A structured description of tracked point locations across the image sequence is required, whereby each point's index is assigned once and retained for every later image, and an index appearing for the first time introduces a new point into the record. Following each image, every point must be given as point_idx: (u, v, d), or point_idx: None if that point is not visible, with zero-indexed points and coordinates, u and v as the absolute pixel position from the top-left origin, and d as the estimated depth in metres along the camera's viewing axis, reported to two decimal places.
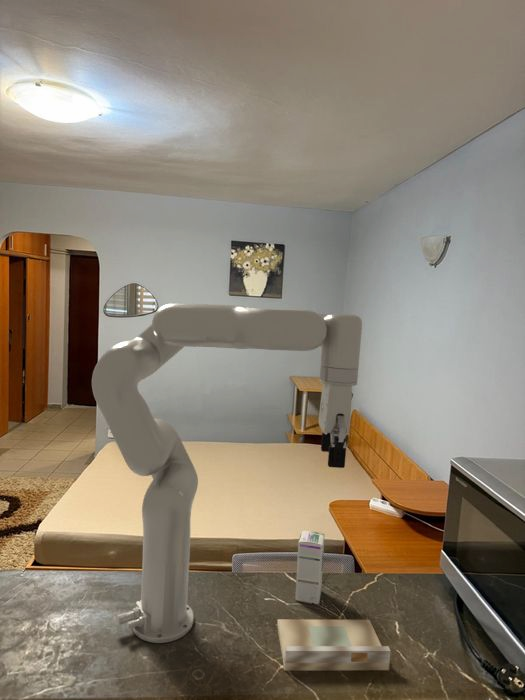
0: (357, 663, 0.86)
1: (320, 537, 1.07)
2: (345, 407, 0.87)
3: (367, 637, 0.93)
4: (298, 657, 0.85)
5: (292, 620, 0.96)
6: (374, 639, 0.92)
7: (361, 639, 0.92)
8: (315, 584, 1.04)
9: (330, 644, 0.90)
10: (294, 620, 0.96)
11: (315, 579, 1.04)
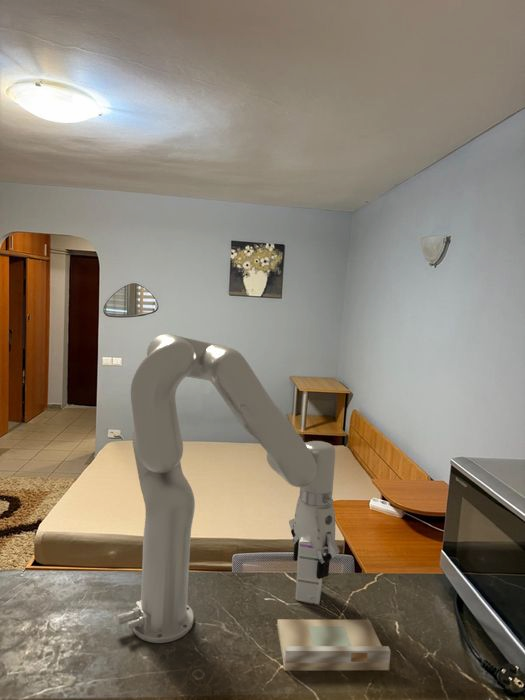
0: (357, 663, 0.86)
1: None
2: None
3: (367, 637, 0.93)
4: (298, 657, 0.85)
5: (292, 620, 0.96)
6: (374, 639, 0.92)
7: (361, 639, 0.92)
8: (315, 584, 1.04)
9: (330, 644, 0.90)
10: (294, 620, 0.96)
11: (315, 579, 1.04)
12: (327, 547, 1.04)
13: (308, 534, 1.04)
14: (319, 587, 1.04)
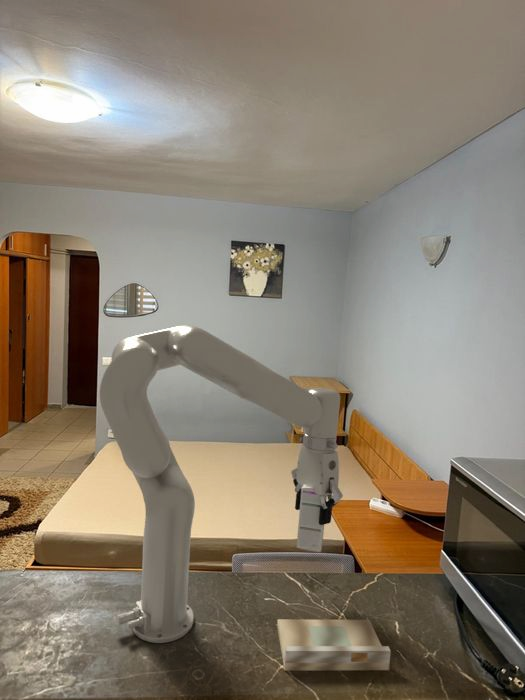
0: (357, 663, 0.86)
1: None
2: None
3: (367, 637, 0.93)
4: (298, 657, 0.85)
5: (292, 620, 0.96)
6: (374, 639, 0.92)
7: (361, 639, 0.92)
8: (317, 531, 1.03)
9: (330, 644, 0.90)
10: (294, 620, 0.96)
11: (317, 526, 1.03)
12: (330, 493, 1.02)
13: (311, 480, 1.03)
14: (321, 534, 1.03)
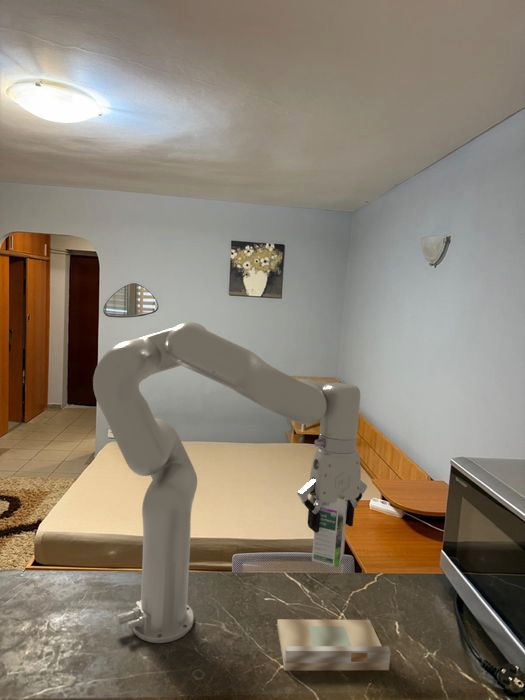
0: (357, 663, 0.86)
1: None
2: None
3: (367, 637, 0.93)
4: (298, 657, 0.85)
5: (292, 620, 0.96)
6: (374, 639, 0.92)
7: (361, 639, 0.92)
8: None
9: (330, 644, 0.90)
10: (294, 620, 0.96)
11: None
12: (318, 499, 0.91)
13: None
14: None
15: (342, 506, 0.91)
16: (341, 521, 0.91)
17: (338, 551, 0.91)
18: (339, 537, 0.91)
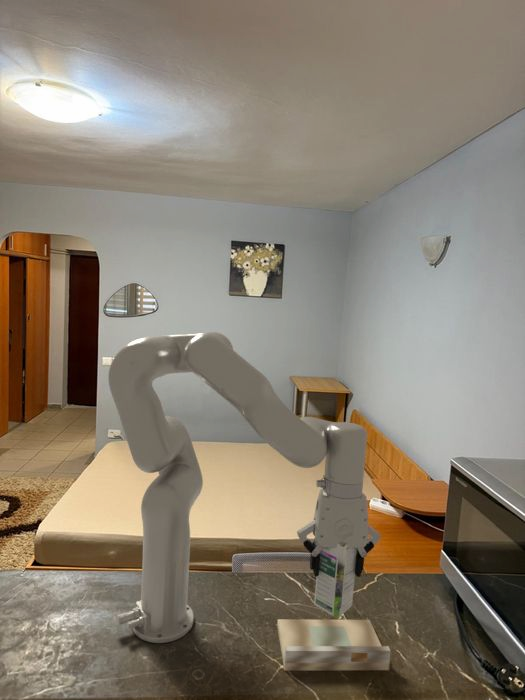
0: (357, 663, 0.86)
1: None
2: None
3: (367, 637, 0.93)
4: (298, 657, 0.85)
5: (292, 620, 0.96)
6: (374, 639, 0.92)
7: (361, 639, 0.92)
8: None
9: (330, 644, 0.90)
10: (294, 620, 0.96)
11: None
12: None
13: None
14: (316, 585, 0.90)
15: (342, 554, 0.86)
16: (340, 569, 0.86)
17: (337, 601, 0.87)
18: (338, 586, 0.86)
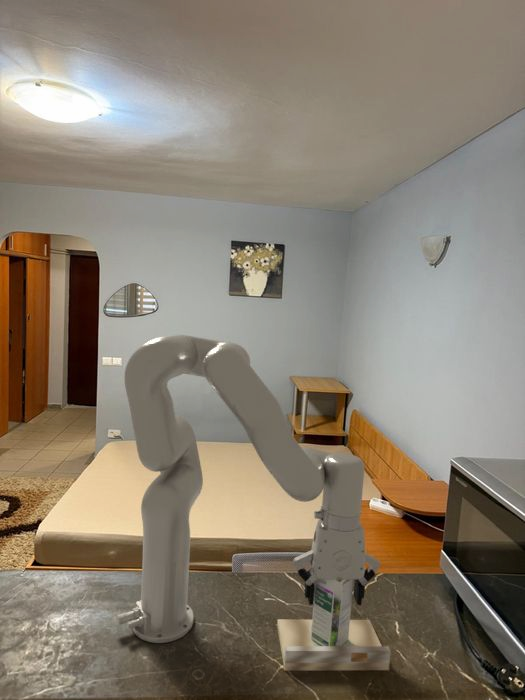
0: (357, 663, 0.86)
1: None
2: None
3: (367, 637, 0.93)
4: (298, 657, 0.85)
5: (292, 620, 0.96)
6: (374, 639, 0.92)
7: (361, 639, 0.92)
8: None
9: None
10: (294, 620, 0.96)
11: None
12: None
13: None
14: (312, 619, 0.91)
15: (338, 589, 0.87)
16: (337, 604, 0.87)
17: (333, 635, 0.87)
18: (335, 621, 0.87)
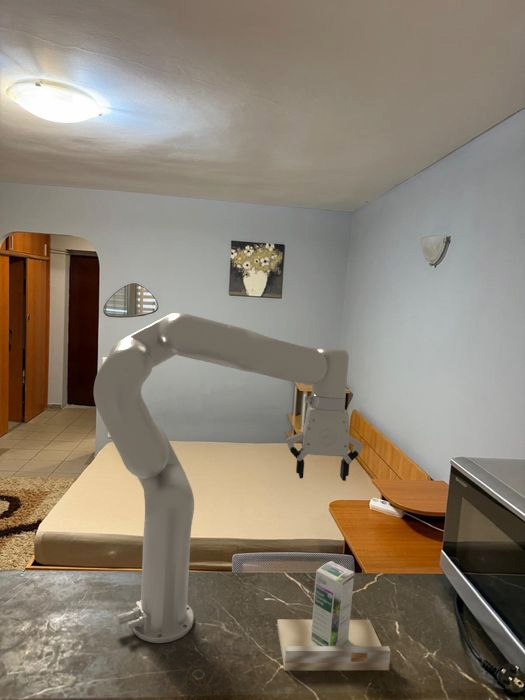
0: (357, 663, 0.86)
1: (332, 575, 0.88)
2: None
3: (367, 637, 0.93)
4: (298, 657, 0.85)
5: (292, 620, 0.96)
6: (374, 639, 0.92)
7: (361, 639, 0.92)
8: None
9: None
10: (294, 620, 0.96)
11: None
12: None
13: None
14: (312, 619, 0.91)
15: (338, 590, 0.87)
16: (337, 605, 0.87)
17: (333, 636, 0.87)
18: (335, 621, 0.87)
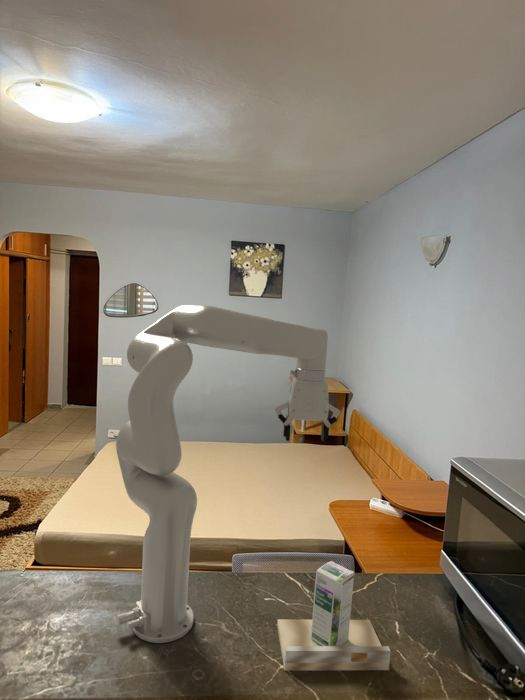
0: (357, 663, 0.86)
1: (332, 575, 0.88)
2: None
3: (367, 637, 0.93)
4: (298, 657, 0.85)
5: (292, 620, 0.96)
6: (374, 639, 0.92)
7: (361, 639, 0.92)
8: None
9: None
10: (294, 620, 0.96)
11: None
12: None
13: None
14: (312, 619, 0.91)
15: (338, 590, 0.87)
16: (337, 605, 0.87)
17: (333, 636, 0.87)
18: (335, 621, 0.87)
